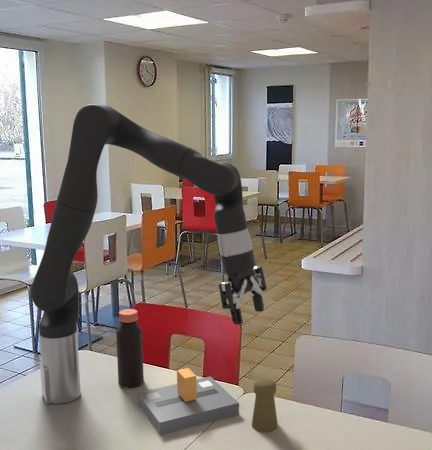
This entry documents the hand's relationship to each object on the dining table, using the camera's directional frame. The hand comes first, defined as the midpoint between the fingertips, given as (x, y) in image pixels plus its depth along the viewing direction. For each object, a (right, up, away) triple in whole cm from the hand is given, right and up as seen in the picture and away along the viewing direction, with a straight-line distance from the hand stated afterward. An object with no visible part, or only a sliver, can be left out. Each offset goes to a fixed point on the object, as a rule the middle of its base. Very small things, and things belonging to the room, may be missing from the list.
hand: (249, 317), depth 132 cm
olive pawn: (+4, -25, -1) cm, 25 cm away
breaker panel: (-15, -23, +7) cm, 29 cm away
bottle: (-31, -21, +21) cm, 43 cm away
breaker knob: (-15, -20, +6) cm, 26 cm away
